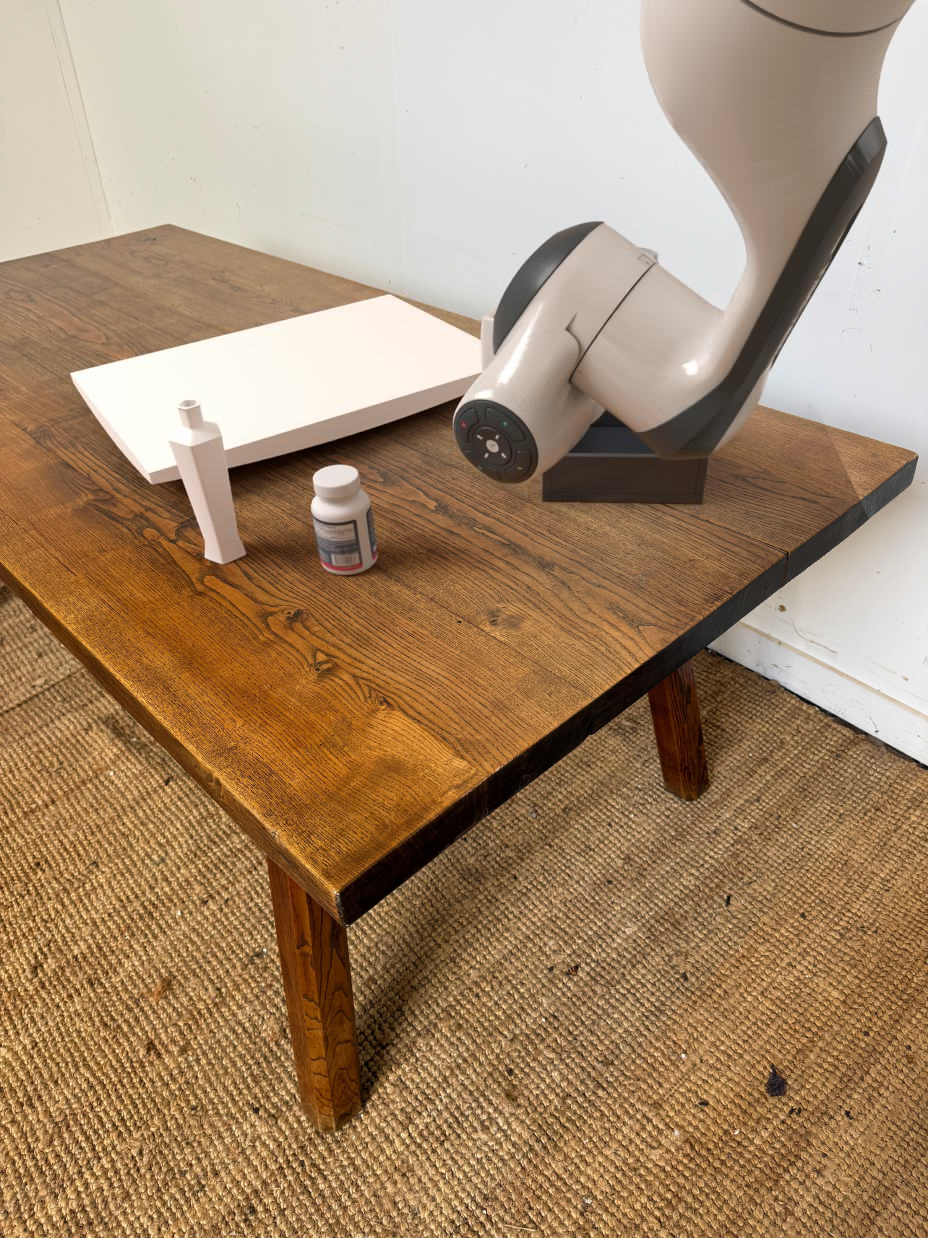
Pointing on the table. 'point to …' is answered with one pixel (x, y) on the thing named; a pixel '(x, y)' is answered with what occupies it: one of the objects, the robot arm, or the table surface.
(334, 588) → the table surface
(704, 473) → the open box
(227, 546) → the perfume bottle
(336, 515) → the pill bottle
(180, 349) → the board
